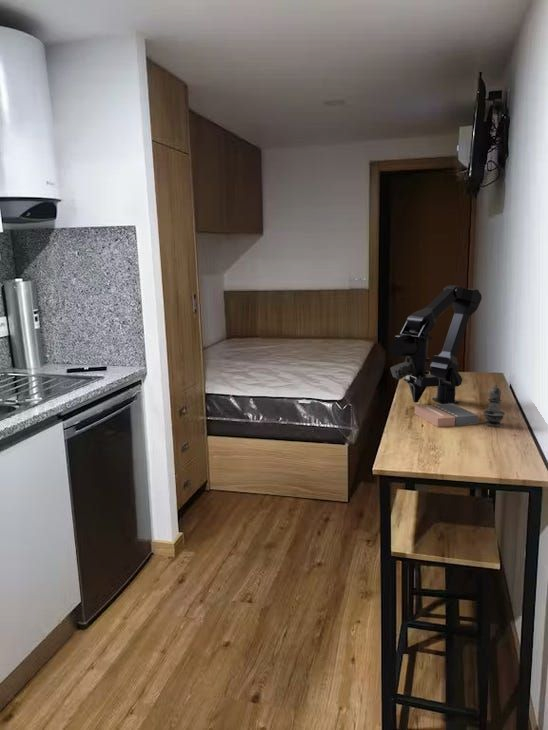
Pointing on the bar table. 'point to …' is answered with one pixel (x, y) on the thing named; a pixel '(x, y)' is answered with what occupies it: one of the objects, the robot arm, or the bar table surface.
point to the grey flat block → (458, 414)
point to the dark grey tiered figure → (494, 409)
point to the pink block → (435, 415)
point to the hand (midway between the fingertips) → (415, 402)
